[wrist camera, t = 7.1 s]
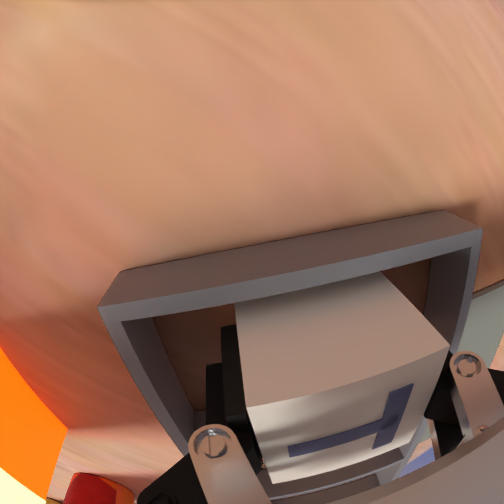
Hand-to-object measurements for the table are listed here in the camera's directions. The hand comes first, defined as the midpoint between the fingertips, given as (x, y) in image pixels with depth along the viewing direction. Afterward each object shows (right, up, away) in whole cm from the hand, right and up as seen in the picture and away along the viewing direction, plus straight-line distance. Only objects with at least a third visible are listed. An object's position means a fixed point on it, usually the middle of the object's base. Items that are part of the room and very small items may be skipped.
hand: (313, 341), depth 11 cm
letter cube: (0, 0, +1) cm, 1 cm away
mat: (+12, -6, +5) cm, 14 cm away
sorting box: (+1, -8, +5) cm, 9 cm away
